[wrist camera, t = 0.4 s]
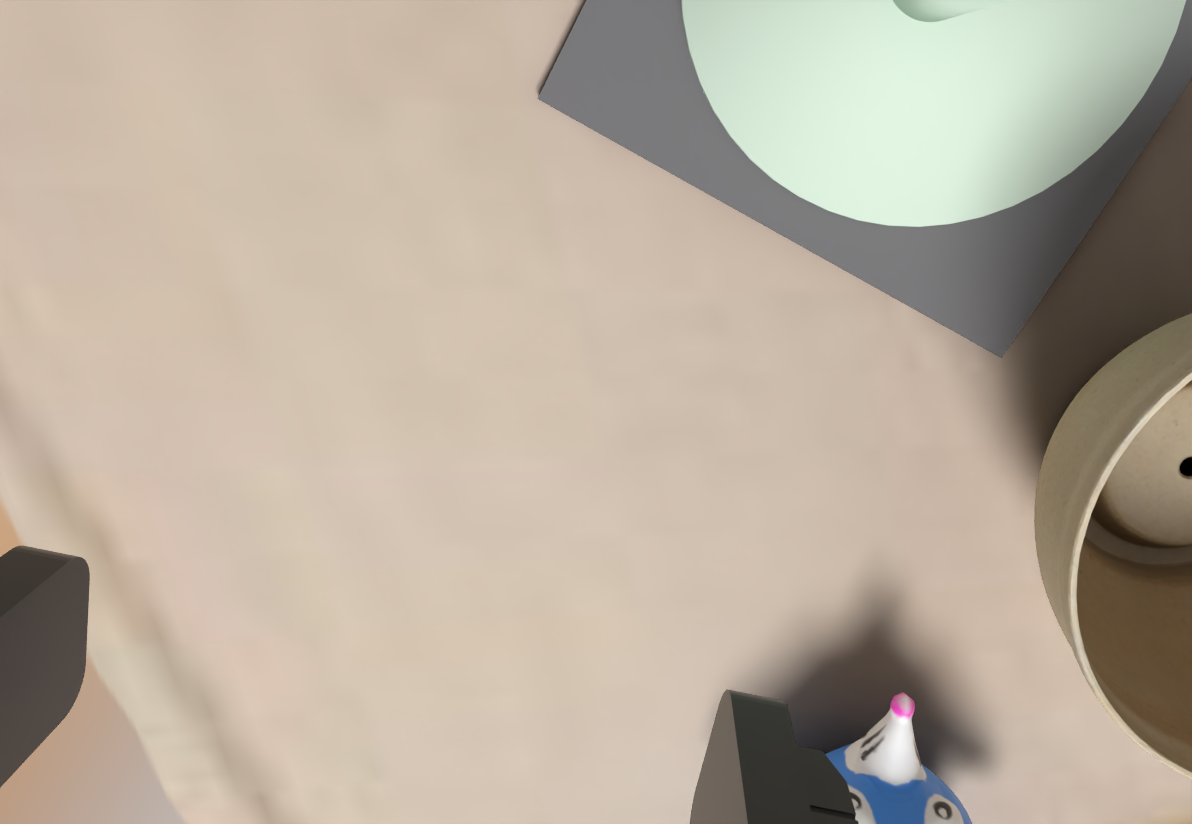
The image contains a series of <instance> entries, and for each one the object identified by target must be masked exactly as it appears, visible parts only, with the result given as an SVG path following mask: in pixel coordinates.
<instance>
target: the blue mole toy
mask: <svg viewBox="0 0 1192 824" xmlns="http://www.w3.org/2000/svg"><path fill="white" fill-rule="evenodd" d="M914 710H915V702H914V701H913V700H912V699H911V698H910V697H909V696H908V695H906V694H905V693H904V692H902V693H900V694H897V695H895V696H893V699H892V701H891V703H890V710H889V711H888V713H887V714H886V716H885V717H884V718H882V719H881V720H880V721H879V722H878V723H877V724H876V725H875V726H874V727H873V728H872V729H870V730H869V732H868V733H867V734H866V735H864V736H863V737H862V738H860V739H859V740H857V741H856V742H854V743H852V744H849V745H846V746H844V747H841V748H838V749H836V750H834V751H831V752H829V753H827V754H825V755H826V756H827V757H828V759H829V760H830V761H831V762H832V764H833V765H834V766H835V768H836V769H837V770H838V771H839V773H840V774H841V775H842V776H843V778H844V779H845V780H846V782H847V784H848V788H849V791H850V795H851V798H852V802H853V805H854V809H855V813H856V816H855V820H857V821H858V823H859V824H972V822H971V820H970V818H969V816H968V814H967V812H966V810H965V808H964V807H963V805H962V803H961V802H960V801H959V799H958V798H957V796H956V795H955V794H954V793H953V792H952V790H951V789H950V788H949V787H948V786H947V785H946V784H945V783H944V782H943V781H942V780H941V779H940V778H938V777H937V776H936V775H935V774H934V773H933V772H932V771H930V770H929V769H928V768H926V767H925V766H923V765H922V764H921V761H920V757H919V754H918V750H917V747H916V742H915V738H914V732H913V726H912V720H911V719H912V716H913V714H914Z"/></svg>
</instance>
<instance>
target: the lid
mask: <svg viewBox="0 0 1192 824" xmlns="http://www.w3.org/2000/svg"><path fill="white" fill-rule="evenodd" d="M1185 3H1186V0H681V9H682V20H683V25H684V30H685V35H686V41H687V46H688V51H689V54H690V57H691V60H692V63H693V66H694V69H695V72H696V75H697V78H698V81H699V83H700V85H701V88H702V90H703V92H704V94H705V96H706V98H707V100H708V102H709V104H710V106H711V108H712V110H713V112H714V113H715V115H716V117H717V118H718V120H719V121H720V123H721V124H722V126H723V127H724V129H725V130H726V132H727V133H728V135H729V136H730V137H731V139H732V140H733V141H734V142H735V143H736V144H737V146H738V147H739V148H740V149H741V150H742V151H743V152H744V154H745V155H746V156H747V157H748V158H749V159H750V160H751V161H752V162H753V163H754V164H755V165H756V166H758V167H759V168H760V169H761V170H762V171H763V172H764V173H766V174H767V175H768V176H769V177H770V178H771V179H773V180H774V181H776V182H777V183H779V184H780V185H782V186H783V187H785V188H786V189H788V190H789V191H791V192H792V193H794V194H795V195H797V196H799V197H801V198H803V199H805V200H807V201H809V202H811V203H813V204H815V205H817V206H819V207H821V208H824V209H826V210H828V211H830V212H833V213H837V214H840V215H843V216H846V217H849V218H852V219H855V220H859V221H865V222H871V223H876V224H882V225H888V226H912V227H923V226H934V225H945V224H953V223H957V222H962V221H966V220H971V219H975V218H980V217H983V216H986V215H989V214H992V213H995V212H998V211H1000V210H1003V209H1006V208H1009V207H1012V206H1014V205H1016V204H1018V203H1020V202H1022V201H1024V200H1026V199H1028V198H1030V197H1032V196H1034V195H1036V194H1038V193H1040V192H1042V191H1044V190H1045V189H1047V188H1048V187H1050V186H1051V185H1053V184H1054V183H1056V182H1057V181H1059V180H1060V179H1062V178H1063V177H1065V176H1067V175H1068V174H1070V173H1071V172H1072V171H1073V170H1075V169H1076V168H1077V167H1078V166H1079V165H1081V164H1082V163H1083V162H1084V161H1085V160H1087V159H1088V158H1089V157H1090V156H1091V155H1093V154H1094V153H1095V152H1096V151H1097V150H1098V149H1099V148H1100V147H1101V146H1102V145H1103V144H1104V143H1105V142H1106V141H1107V140H1108V139H1109V138H1110V137H1111V136H1112V135H1113V134H1114V133H1115V131H1116V130H1117V129H1118V128H1119V127H1120V126H1121V125H1122V124H1123V123H1124V121H1125V120H1126V119H1127V117H1128V116H1129V115H1130V113H1131V112H1132V111H1133V109H1134V108H1135V107H1136V105H1137V104H1138V103H1139V101H1140V100H1141V99H1142V97H1143V96H1144V94H1145V92H1146V91H1147V89H1148V87H1149V86H1150V84H1151V82H1152V81H1153V79H1154V77H1155V76H1156V74H1157V72H1158V70H1159V69H1160V67H1161V65H1162V63H1163V61H1164V59H1165V56H1166V54H1167V52H1168V50H1169V47H1170V45H1171V43H1172V41H1173V38H1174V36H1175V34H1176V31H1177V28H1178V25H1179V22H1180V19H1181V15H1182V12H1183V9H1184V6H1185Z"/></svg>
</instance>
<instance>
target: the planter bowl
mask: <svg viewBox="0 0 1192 824" xmlns="http://www.w3.org/2000/svg"><path fill="white" fill-rule="evenodd" d="M1188 457H1192V313H1190V314H1188V315H1186V316H1183V317H1181V318H1178V319H1176V320H1174V321H1172V322H1169V323H1167V324H1165V325H1163V326H1161V327H1160V328H1158V329H1156V330H1154V331H1152V332H1151V333H1149V334H1147V335H1145V336H1144V337H1142V338H1140V339H1139V340H1137V341H1136V342H1134V343H1133V344H1131V345H1130V346H1128V347H1127V348H1125V349H1124V350H1123V351H1121V352H1120V353H1119V354H1118V355H1116V356H1115V357H1114V358H1112V359H1111V360H1110V361H1109V362H1108V363H1106V364H1105V365H1104V366H1103V367H1102V368H1101V369H1100V370H1099V371H1098V372H1097V373H1096V374H1095V375H1094V376H1093V377H1092V378H1091V379H1090V380H1089V381H1088V382H1087V383H1086V384H1085V385H1084V386H1083V388H1082V389H1081V390H1080V391H1079V392H1078V393H1077V395H1076V396H1075V398H1074V399H1073V400H1072V402H1071V403H1070V405H1069V406H1068V408H1067V410H1066V411H1065V413H1064V414H1063V416H1062V418H1061V419H1060V421H1059V423H1058V425H1057V427H1056V428H1055V430H1054V433H1053V435H1052V437H1051V439H1050V442H1049V444H1048V447H1047V450H1046V452H1045V455H1044V458H1043V462H1042V465H1041V469H1040V473H1039V478H1038V483H1037V489H1036V498H1035V519H1034V522H1035V540H1036V549H1037V556H1038V561H1039V567H1040V572H1041V576H1042V580H1043V584H1044V587H1045V590H1046V593H1047V596H1048V599H1049V601H1050V604H1051V606H1052V609H1053V611H1054V614H1055V616H1056V618H1057V621H1058V623H1059V625H1060V627H1061V629H1062V631H1063V633H1064V635H1065V637H1066V639H1067V641H1068V642H1069V644H1070V646H1071V647H1072V649H1073V651H1074V654H1075V657H1076V659H1077V662H1078V664H1079V666H1080V668H1081V670H1082V672H1083V674H1084V676H1085V678H1086V680H1087V682H1088V684H1089V685H1090V687H1091V689H1092V690H1093V692H1094V693H1095V695H1096V696H1097V698H1098V699H1099V701H1100V702H1101V704H1102V705H1103V706H1104V708H1105V709H1106V711H1107V712H1108V713H1109V715H1110V716H1111V717H1112V718H1113V719H1114V721H1115V722H1116V723H1117V724H1118V725H1119V726H1120V728H1121V729H1122V730H1123V731H1124V732H1125V733H1126V734H1127V735H1128V736H1129V737H1130V738H1131V739H1133V740H1134V741H1135V742H1136V743H1137V744H1138V745H1139V746H1140V747H1141V748H1143V749H1144V750H1145V751H1146V752H1147V753H1149V754H1150V755H1152V756H1153V757H1155V758H1156V759H1158V760H1159V761H1160V762H1162V763H1163V764H1165V765H1167V766H1168V767H1170V768H1172V769H1173V770H1175V771H1177V772H1178V773H1180V774H1182V775H1184V776H1186V777H1188V778H1190V779H1192V476H1185V475H1183V474H1181V472H1180V470H1179V469H1180V464H1181V463H1182V461H1183V460H1184V459H1186V458H1188Z"/></svg>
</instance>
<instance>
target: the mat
mask: <svg viewBox="0 0 1192 824" xmlns="http://www.w3.org/2000/svg"><path fill="white" fill-rule="evenodd" d="M1191 79H1192V0H1186V3H1185V6H1184V9H1183V12H1182V15H1181V19H1180V22H1179V25H1178V28H1177V31H1176V34H1175V36H1174V38H1173V41H1172V43H1171V45H1170V47H1169V50H1168V52H1167V54H1166V56H1165V59H1164V61H1163V63H1162V65H1161V67H1160V69H1159V70H1158V72H1157V74H1156V76H1155V77H1154V79H1153V81H1152V82H1151V84H1150V86H1149V87H1148V89H1147V91H1146V92H1145V94H1144V96H1143V97H1142V99H1141V100H1140V101H1139V103H1138V104H1137V105H1136V107H1135V108H1134V109H1133V111H1132V112H1131V113H1130V115H1129V116H1128V117H1127V119H1126V120H1125V121H1124V123H1123V124H1122V125H1121V126H1120V127H1119V128H1118V129H1117V130H1116V131H1115V133H1114V134H1113V135H1112V136H1111V137H1110V138H1109V139H1108V140H1107V141H1106V142H1105V143H1104V144H1103V145H1102V146H1101V147H1100V148H1099V149H1098V150H1097V151H1096V152H1095V153H1094V154H1093V155H1091V156H1090V157H1089V158H1088V159H1087V160H1085V161H1084V162H1083V163H1082V164H1081V165H1079V166H1078V167H1077V168H1076V169H1075V170H1073V171H1072V172H1071V173H1070V174H1068V175H1067V176H1065V177H1063V178H1062V179H1060V180H1059V181H1057V182H1056V183H1054V184H1053V185H1051V186H1050V187H1048V188H1047V189H1045V190H1044V191H1042V192H1040V193H1038V194H1036V195H1034V196H1032V197H1030V198H1028V199H1026V200H1024V201H1022V202H1020V203H1018V204H1016V205H1014V206H1012V207H1009V208H1006V209H1003V210H1000V211H998V212H995V213H992V214H989V215H986V216H983V217H980V218H975V219H971V220H966V221H962V222H957V223H953V224H945V225H934V226H923V227H912V226H888V225H882V224H876V223H871V222H865V221H859V220H855V219H852V218H849V217H846V216H843V215H840V214H837V213H833V212H830V211H828V210H826V209H824V208H821V207H819V206H817V205H815V204H813V203H811V202H809V201H807V200H805V199H803V198H801V197H799V196H797V195H795V194H794V193H792V192H791V191H789V190H788V189H786V188H785V187H783V186H782V185H780V184H779V183H777V182H776V181H774V180H773V179H771V178H770V177H769V176H768V175H767V174H766V173H764V172H763V171H762V170H761V169H760V168H759V167H758V166H756V165H755V164H754V163H753V162H752V161H751V160H750V159H749V158H748V157H747V156H746V155H745V154H744V152H743V151H742V150H741V149H740V148H739V147H738V146H737V144H736V143H735V142H734V141H733V140H732V139H731V137H730V136H729V135H728V133H727V132H726V130H725V129H724V127H723V126H722V124H721V123H720V121H719V120H718V118H717V117H716V115H715V113H714V112H713V110H712V108H711V106H710V104H709V102H708V100H707V98H706V96H705V94H704V92H703V90H702V88H701V85H700V83H699V81H698V78H697V75H696V72H695V69H694V66H693V63H692V60H691V57H690V54H689V51H688V46H687V41H686V35H685V30H684V25H683V20H682V9H681V0H586V2H585V4H584V6H583V8H582V10H581V12H580V14H579V16H578V18H577V20H576V22H575V24H574V26H573V28H572V30H571V32H570V34H569V36H568V38H567V40H566V42H565V44H564V46H563V48H562V50H561V52H560V54H559V56H558V58H557V60H556V62H555V64H554V66H553V69H552V71H551V73H550V75H549V77H548V79H547V81H546V83H545V85H544V87H543V89H542V91H541V93H540V95H539V97H538V99H539V100H541V101H542V102H544V103H546V104H548V105H550V106H551V107H553V108H555V109H557V110H559V111H560V112H562V113H564V114H566V115H567V116H569V117H571V118H573V119H575V120H576V121H578V122H580V123H582V124H584V125H585V126H587V127H589V128H591V129H593V130H594V131H596V132H598V133H600V134H602V135H603V136H605V137H607V138H609V139H610V140H612V141H614V142H616V143H618V144H619V145H621V146H623V147H625V148H627V149H628V150H630V151H632V152H634V153H636V154H637V155H639V156H641V157H643V158H644V159H646V160H648V161H650V162H652V163H653V164H655V165H657V166H659V167H661V168H662V169H664V170H666V171H668V172H670V173H671V174H673V175H675V176H677V177H678V178H680V179H682V180H684V181H686V182H687V183H689V184H691V185H693V186H695V187H696V188H698V189H700V190H702V191H704V192H705V193H707V194H709V195H711V196H713V197H714V198H716V199H718V200H720V201H721V202H723V203H725V204H727V205H729V206H730V207H732V208H734V209H736V210H738V211H739V212H741V213H743V214H745V215H747V216H748V217H750V218H752V219H754V220H755V221H757V222H759V223H761V224H763V225H764V226H766V227H768V228H770V229H772V230H773V231H775V232H777V233H779V234H781V235H782V236H784V237H786V238H788V239H789V240H791V241H793V242H795V243H797V244H798V245H800V246H802V247H804V248H806V249H807V250H809V251H811V252H813V253H815V254H816V255H818V256H820V257H822V258H823V259H825V260H827V261H829V262H831V263H832V264H834V265H836V266H838V267H840V268H841V269H843V270H845V271H847V272H849V273H850V274H852V275H854V276H856V277H858V278H859V279H861V280H863V281H865V282H866V283H868V284H870V285H872V286H874V287H875V288H877V289H879V290H881V291H883V292H884V293H886V294H888V295H890V296H892V297H893V298H895V299H897V300H899V301H900V302H902V303H904V304H906V305H908V306H909V307H911V308H913V309H915V310H917V311H918V312H920V313H922V314H924V315H926V316H927V317H929V318H931V319H933V320H934V321H936V322H938V323H940V324H942V325H943V326H945V327H947V328H949V329H951V330H952V331H954V332H956V333H958V334H960V335H961V336H963V337H965V338H967V339H969V340H970V341H972V342H974V343H976V344H977V345H979V346H981V347H983V348H985V349H986V350H988V351H990V352H992V353H994V354H995V355H997V356H999V357H1001V358H1002V357H1003V355H1004V354H1005V352H1006V351H1007V349H1008V348H1009V346H1010V345H1011V344H1012V342H1013V341H1014V339H1015V338H1016V336H1017V335H1018V333H1019V332H1020V330H1021V329H1022V327H1023V326H1024V324H1025V323H1026V321H1027V320H1028V319H1029V317H1030V316H1031V314H1032V313H1033V311H1034V310H1035V308H1036V307H1037V305H1038V304H1039V302H1040V301H1041V299H1042V298H1043V296H1044V295H1045V293H1046V292H1047V291H1048V289H1049V288H1050V286H1051V285H1052V283H1053V282H1054V280H1055V279H1056V277H1057V276H1058V274H1059V273H1060V271H1061V270H1062V268H1063V267H1064V266H1065V264H1066V263H1067V261H1068V260H1069V258H1070V257H1071V255H1072V254H1073V252H1074V251H1075V249H1076V248H1077V246H1078V245H1079V243H1080V242H1081V241H1082V239H1083V238H1084V236H1085V235H1086V233H1087V232H1088V230H1089V229H1090V227H1091V226H1092V224H1093V223H1094V221H1095V220H1096V218H1097V217H1098V216H1099V214H1100V213H1101V211H1102V210H1103V208H1104V207H1105V205H1106V204H1107V202H1108V201H1109V199H1110V198H1111V196H1112V195H1113V193H1114V192H1115V190H1116V189H1117V188H1118V186H1119V185H1120V183H1121V182H1122V180H1123V179H1124V177H1125V176H1126V174H1127V173H1128V171H1129V170H1130V168H1131V167H1132V165H1133V164H1134V163H1135V161H1136V160H1137V158H1138V157H1139V155H1140V154H1141V152H1142V151H1143V149H1144V148H1145V146H1146V145H1147V143H1148V142H1149V140H1150V139H1151V138H1152V136H1153V135H1154V133H1155V132H1156V130H1157V129H1158V127H1159V126H1160V124H1161V123H1162V121H1163V120H1164V118H1165V117H1166V115H1167V114H1168V113H1169V111H1170V110H1171V108H1172V107H1173V105H1174V104H1175V102H1176V101H1177V99H1178V98H1179V96H1180V95H1181V93H1182V92H1183V90H1184V89H1185V88H1186V86H1187V85H1188V83H1189V82H1190V80H1191Z"/></svg>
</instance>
